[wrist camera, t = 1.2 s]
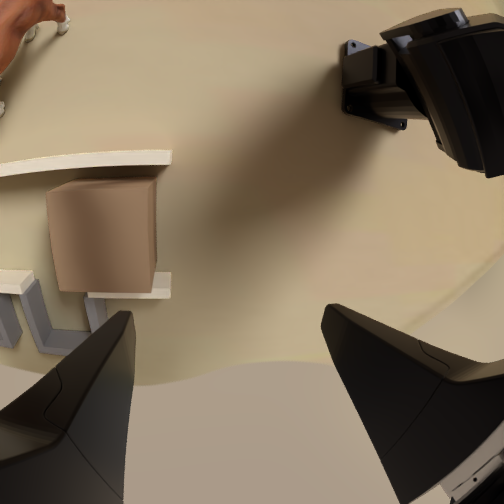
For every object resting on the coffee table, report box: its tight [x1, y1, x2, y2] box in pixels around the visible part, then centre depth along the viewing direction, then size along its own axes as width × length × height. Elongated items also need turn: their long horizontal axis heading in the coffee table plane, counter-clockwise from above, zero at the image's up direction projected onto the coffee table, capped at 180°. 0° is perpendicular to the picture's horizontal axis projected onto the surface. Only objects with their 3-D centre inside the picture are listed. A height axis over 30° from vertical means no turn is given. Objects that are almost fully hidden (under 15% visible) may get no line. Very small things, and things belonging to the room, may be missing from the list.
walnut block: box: [46, 177, 157, 293], centre depth 16 cm, size 6×6×5 cm
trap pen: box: [0, 150, 172, 356], centre depth 16 cm, size 27×15×3 cm, turn 85°
